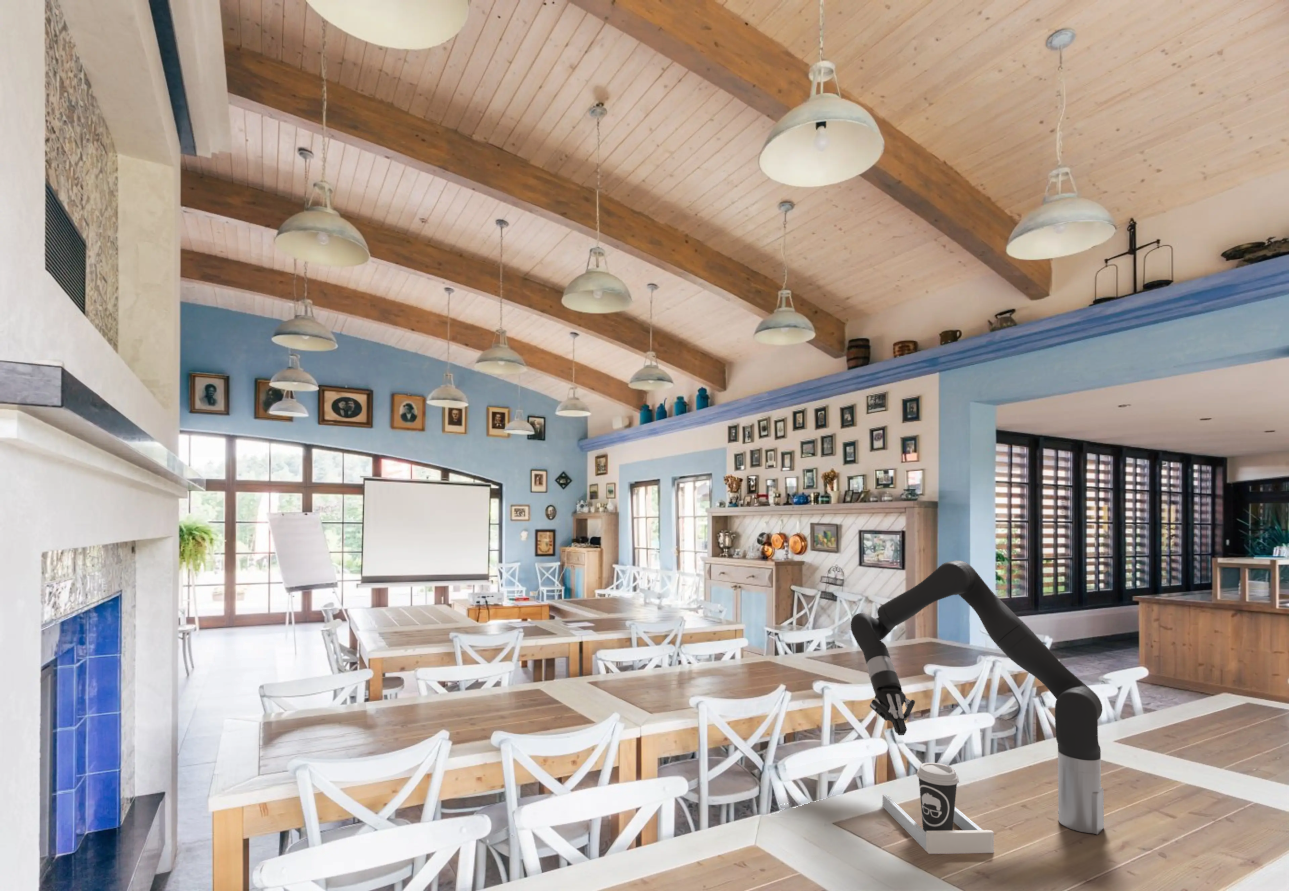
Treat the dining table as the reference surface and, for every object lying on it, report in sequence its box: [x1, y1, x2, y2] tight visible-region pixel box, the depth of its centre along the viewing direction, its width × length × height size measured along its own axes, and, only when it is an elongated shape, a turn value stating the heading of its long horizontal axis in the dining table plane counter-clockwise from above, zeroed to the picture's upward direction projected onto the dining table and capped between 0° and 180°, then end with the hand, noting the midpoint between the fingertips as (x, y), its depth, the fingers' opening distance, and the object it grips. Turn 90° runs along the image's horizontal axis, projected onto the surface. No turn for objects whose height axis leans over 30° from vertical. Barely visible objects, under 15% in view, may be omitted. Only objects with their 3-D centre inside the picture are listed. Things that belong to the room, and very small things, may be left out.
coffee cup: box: [916, 762, 960, 832], centre depth 177 cm, size 10×10×15 cm
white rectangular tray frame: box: [881, 793, 995, 855], centre depth 179 cm, size 25×15×4 cm, turn 5°
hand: (902, 733), depth 198 cm, fingers closed
